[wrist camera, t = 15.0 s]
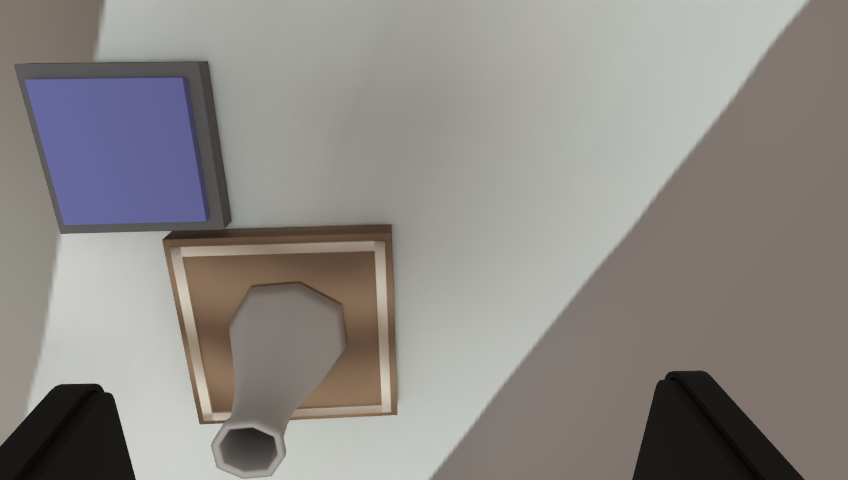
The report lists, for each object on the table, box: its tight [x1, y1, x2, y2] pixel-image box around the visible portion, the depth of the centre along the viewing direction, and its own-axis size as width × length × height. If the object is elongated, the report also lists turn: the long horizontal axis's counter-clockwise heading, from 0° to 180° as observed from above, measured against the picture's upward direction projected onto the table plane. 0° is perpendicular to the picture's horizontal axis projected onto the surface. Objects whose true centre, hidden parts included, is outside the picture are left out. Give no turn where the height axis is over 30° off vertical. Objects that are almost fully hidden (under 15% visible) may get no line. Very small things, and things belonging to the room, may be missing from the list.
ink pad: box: [14, 61, 231, 234], centre depth 28 cm, size 9×9×2 cm
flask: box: [211, 283, 347, 479], centre depth 27 cm, size 7×7×10 cm
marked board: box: [162, 225, 397, 424], centre depth 33 cm, size 13×13×2 cm
